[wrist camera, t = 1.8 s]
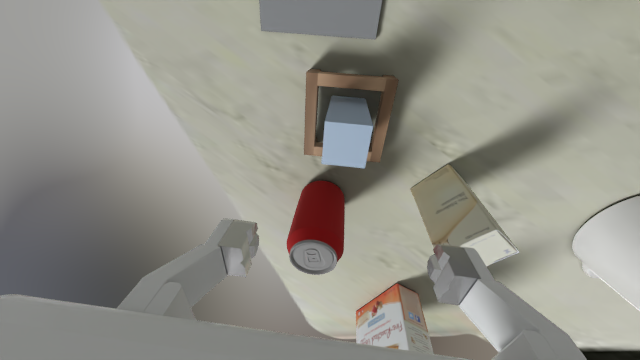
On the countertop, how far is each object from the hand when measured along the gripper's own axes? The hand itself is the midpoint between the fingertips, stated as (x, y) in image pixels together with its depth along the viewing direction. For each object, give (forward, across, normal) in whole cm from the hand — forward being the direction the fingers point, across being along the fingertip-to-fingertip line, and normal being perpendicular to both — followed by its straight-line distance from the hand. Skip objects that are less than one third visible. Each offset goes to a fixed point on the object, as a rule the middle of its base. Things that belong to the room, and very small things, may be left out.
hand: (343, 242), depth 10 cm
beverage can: (+21, +2, +13) cm, 25 cm away
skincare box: (+21, -14, +9) cm, 27 cm away
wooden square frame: (+21, 0, 0) cm, 21 cm away
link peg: (+21, 0, 0) cm, 21 cm away
